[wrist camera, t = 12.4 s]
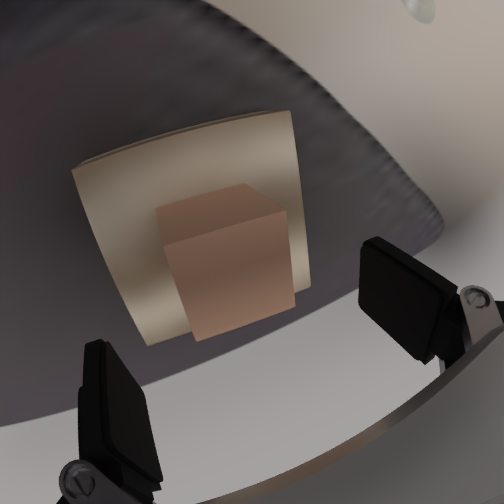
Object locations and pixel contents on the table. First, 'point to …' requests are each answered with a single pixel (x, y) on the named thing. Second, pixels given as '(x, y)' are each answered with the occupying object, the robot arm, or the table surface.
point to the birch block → (179, 188)
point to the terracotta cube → (228, 258)
